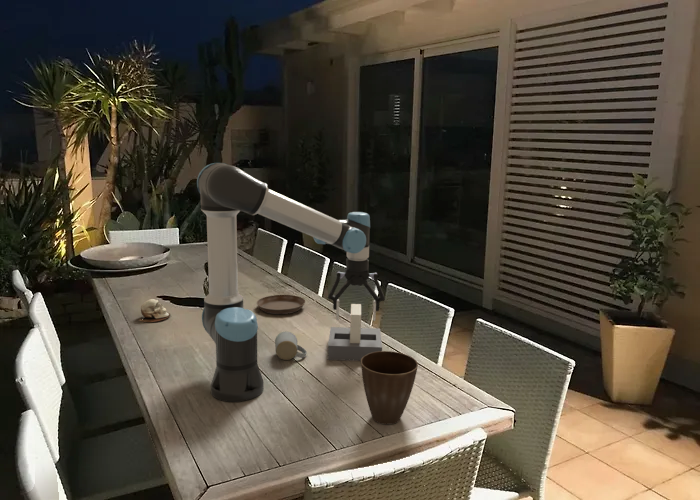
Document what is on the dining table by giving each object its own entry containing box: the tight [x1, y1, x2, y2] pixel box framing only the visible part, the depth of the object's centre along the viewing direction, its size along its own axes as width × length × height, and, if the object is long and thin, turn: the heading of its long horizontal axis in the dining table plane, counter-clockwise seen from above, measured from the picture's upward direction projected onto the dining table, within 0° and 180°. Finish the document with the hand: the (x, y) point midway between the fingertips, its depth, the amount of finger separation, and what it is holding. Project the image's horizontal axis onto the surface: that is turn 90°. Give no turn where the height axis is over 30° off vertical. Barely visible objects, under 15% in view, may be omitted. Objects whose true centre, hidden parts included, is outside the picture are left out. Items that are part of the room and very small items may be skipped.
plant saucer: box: [256, 294, 306, 315], centre depth 236 cm, size 21×21×3 cm
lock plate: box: [327, 326, 383, 362], centre depth 192 cm, size 18×18×5 cm
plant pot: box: [360, 350, 419, 425], centre depth 146 cm, size 15×15×16 cm
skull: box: [138, 298, 171, 323], centre depth 220 cm, size 12×10×10 cm
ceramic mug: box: [274, 330, 308, 361], centre depth 185 cm, size 11×8×8 cm
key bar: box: [349, 303, 362, 343], centre depth 191 cm, size 12×4×10 cm, turn 179°
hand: (355, 319), depth 190 cm, fingers open, 12 cm apart
